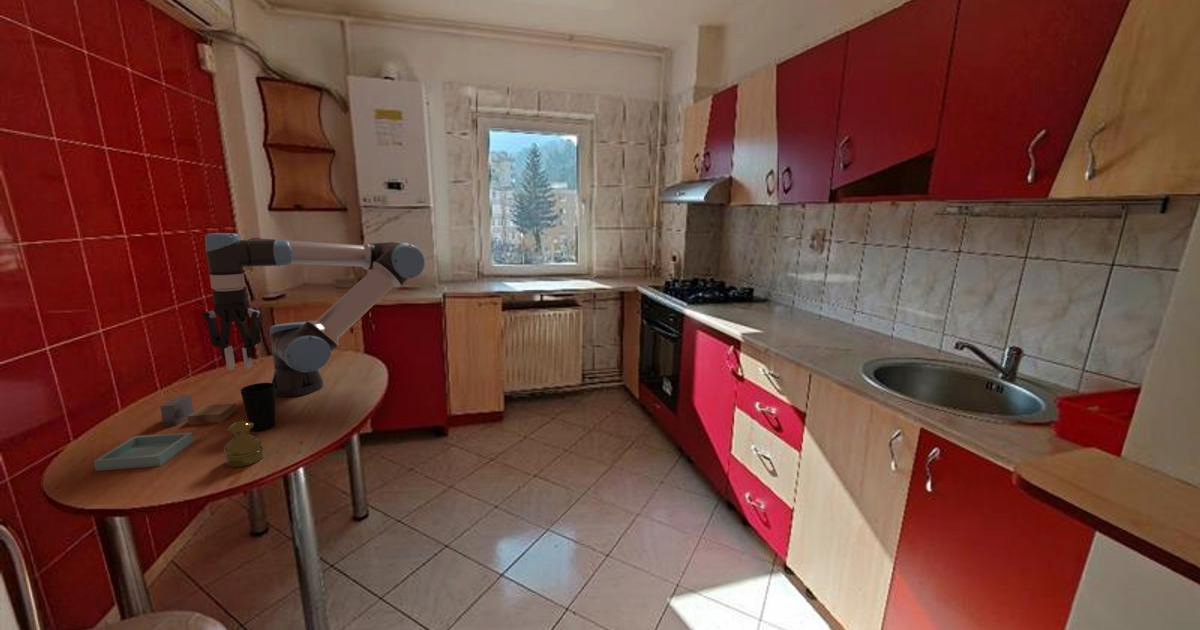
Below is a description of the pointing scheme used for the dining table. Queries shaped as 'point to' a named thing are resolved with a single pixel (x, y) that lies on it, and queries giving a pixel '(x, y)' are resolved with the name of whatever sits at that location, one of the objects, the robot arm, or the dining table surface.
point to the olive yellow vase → (243, 445)
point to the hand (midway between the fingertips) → (240, 368)
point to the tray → (144, 451)
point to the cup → (260, 405)
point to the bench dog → (176, 410)
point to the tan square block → (211, 414)
